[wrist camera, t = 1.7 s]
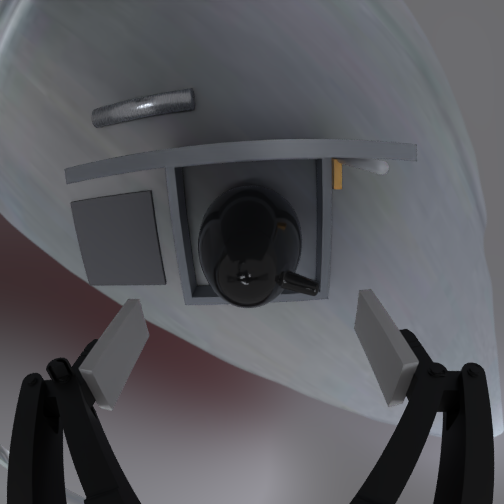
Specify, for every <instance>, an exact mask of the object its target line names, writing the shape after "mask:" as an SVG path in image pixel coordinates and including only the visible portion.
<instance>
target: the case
mask: <svg viewBox="0 0 504 504" xmlns="http://www.w3.org/2000/svg"><path fill="white" fill-rule="evenodd" d="M372 158H373V159H372ZM287 159H316V166H317V259H316V282H318V283H319V284H320V289H319V292H318V294H317V295H316V296H310V295H306V294H302V293H298V292H294V291H290V290H286V289H284V290H283V292H282V293H281V294H280V295H279V296H278V297H276V298H275V299H274V300H273V301H271V302H288V301H304V300H319V299H328V293H329V277H330V257H331V228H332V188H333V189H342V164H345V165H348V166H352V167H355V168H359V169H362V170H366V171H369V172H373V173H376V174H379V175H385V174H386V173H387V172H388V170H389V166H388V164H387V162H385V161H383V160H377V159H392V160H407V161H417V145H416V144H407V143H396V142H383V141H368V140H345V139H277V140H254V141H238V142H225V143H214V144H204V145H194V146H186V147H178V148H170V149H163V150H156V151H150V152H143V153H137V154H132V155H126V156H121V157H115V158H110V159H105V160H101V161H96V162H91V163H87V164H83V165H78V166H74V167H70V168H66V169H65V177H66V184H70V183H74V182H79V181H84V180H89V179H94V178H100V177H105V176H111V175H117V174H123V173H129V172H135V171H142V170H149V169H156V168H164V167H165V171H166V181H167V190H168V198H169V206H170V214H171V221H172V229H173V236H174V242H175V249H176V255H177V262H178V268H179V274H180V279H181V285H182V290H183V296H184V301H185V305H212V304H229V303H227V302H226V301H224V300H223V299H222V298H220V297H219V296H218V295H217V294H216V293H215V292H214V290H213V289H212V288H211V286H210V285H209V286H197V285H196V279H195V272H194V265H193V258H192V251H191V244H190V236H189V229H188V220H187V212H186V203H185V194H184V185H183V175H182V167H185V166H195V165H205V164H216V163H229V162H243V161H261V160H287Z"/></svg>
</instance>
